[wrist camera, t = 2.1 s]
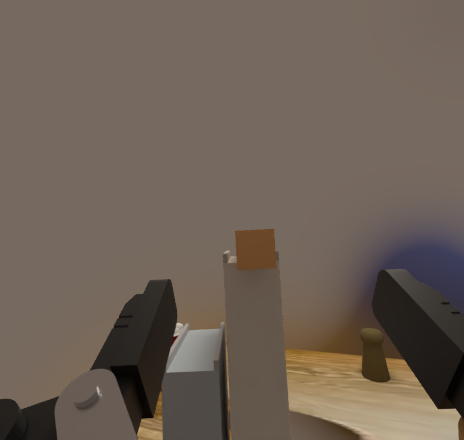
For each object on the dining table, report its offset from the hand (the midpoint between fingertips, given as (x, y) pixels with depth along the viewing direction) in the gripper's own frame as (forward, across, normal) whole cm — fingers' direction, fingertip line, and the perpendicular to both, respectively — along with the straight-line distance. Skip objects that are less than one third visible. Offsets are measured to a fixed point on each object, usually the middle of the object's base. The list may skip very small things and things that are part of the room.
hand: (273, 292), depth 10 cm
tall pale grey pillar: (+5, 0, +40) cm, 40 cm away
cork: (+33, -31, +56) cm, 72 cm away
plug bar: (+17, 0, +10) cm, 20 cm away
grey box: (+5, +7, +40) cm, 41 cm away
